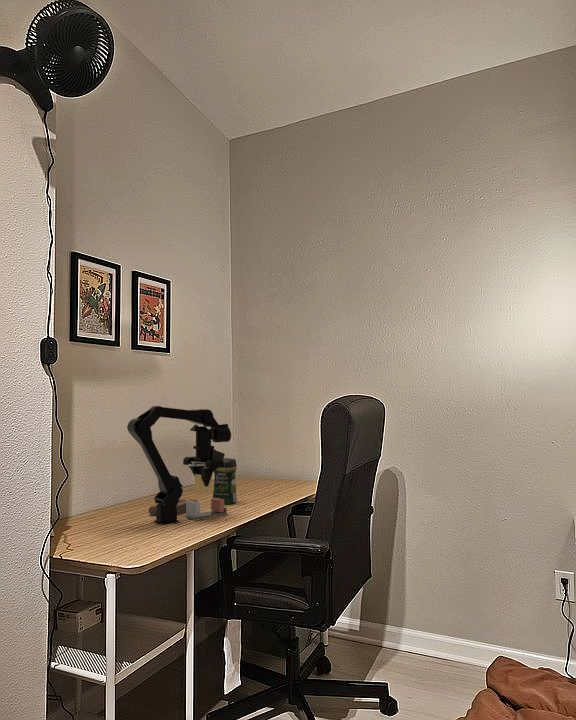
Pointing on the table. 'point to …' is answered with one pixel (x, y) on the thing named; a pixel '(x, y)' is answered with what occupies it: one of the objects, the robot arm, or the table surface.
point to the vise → (194, 511)
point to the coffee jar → (225, 482)
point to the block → (202, 485)
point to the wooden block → (180, 506)
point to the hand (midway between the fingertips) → (203, 485)
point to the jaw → (217, 505)
